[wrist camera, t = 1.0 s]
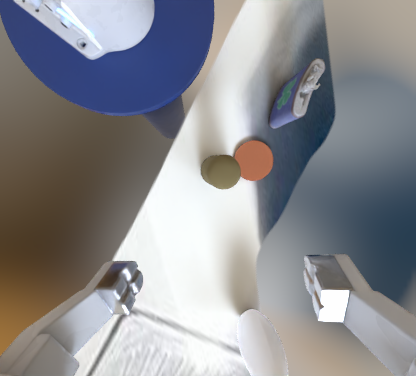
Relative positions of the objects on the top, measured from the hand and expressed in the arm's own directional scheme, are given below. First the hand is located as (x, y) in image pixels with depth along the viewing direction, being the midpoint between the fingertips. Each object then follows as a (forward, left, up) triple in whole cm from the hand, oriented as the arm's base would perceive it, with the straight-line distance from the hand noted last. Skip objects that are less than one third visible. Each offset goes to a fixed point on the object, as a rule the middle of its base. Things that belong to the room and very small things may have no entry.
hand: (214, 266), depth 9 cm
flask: (+8, +22, -29) cm, 37 cm away
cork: (+2, +5, -29) cm, 29 cm away
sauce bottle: (+23, -21, -29) cm, 42 cm away
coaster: (+8, +10, -28) cm, 31 cm away
